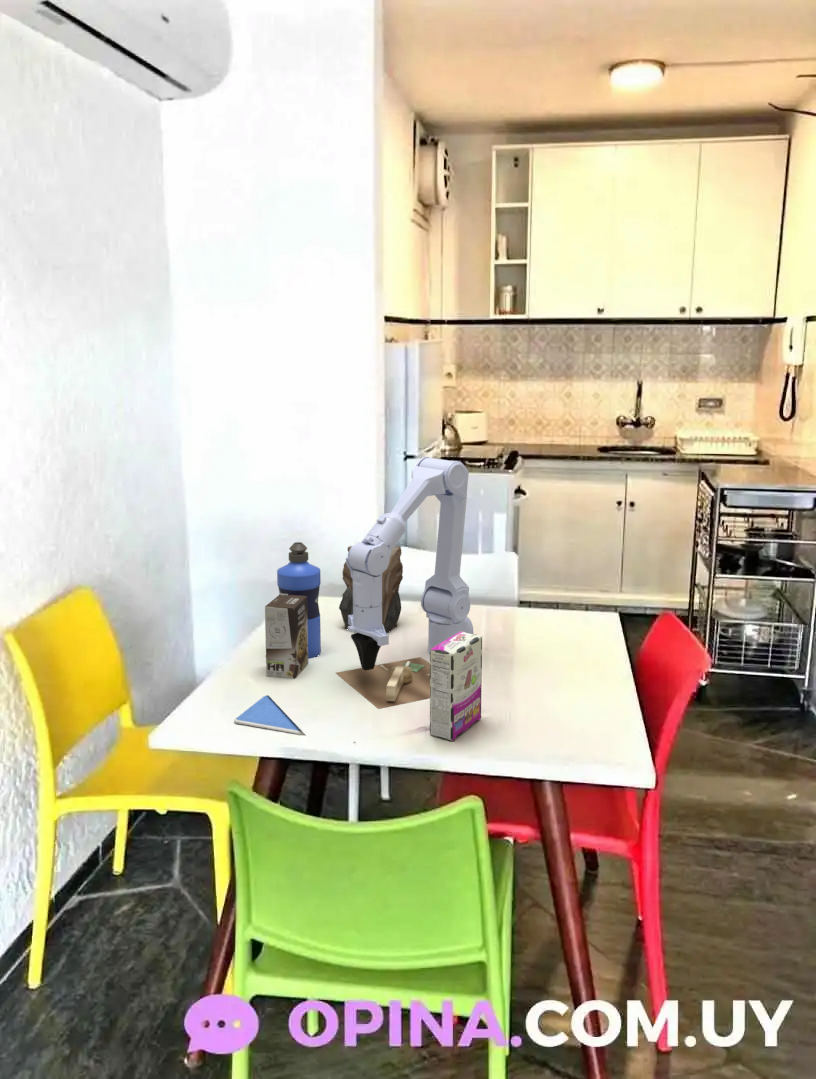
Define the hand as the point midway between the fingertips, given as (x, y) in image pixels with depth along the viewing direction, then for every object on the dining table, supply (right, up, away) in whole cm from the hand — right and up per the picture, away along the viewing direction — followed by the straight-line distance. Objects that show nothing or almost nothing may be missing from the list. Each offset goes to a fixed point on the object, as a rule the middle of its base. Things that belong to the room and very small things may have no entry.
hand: (367, 668), depth 175 cm
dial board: (+7, -4, +1) cm, 8 cm away
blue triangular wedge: (-13, -8, -13) cm, 20 cm away
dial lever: (+6, -2, 0) cm, 7 cm away
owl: (-1, +4, +35) cm, 35 cm away
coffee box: (-17, -2, +6) cm, 18 cm away
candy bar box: (+17, -8, -17) cm, 25 cm away
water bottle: (-16, 0, +19) cm, 25 cm away
